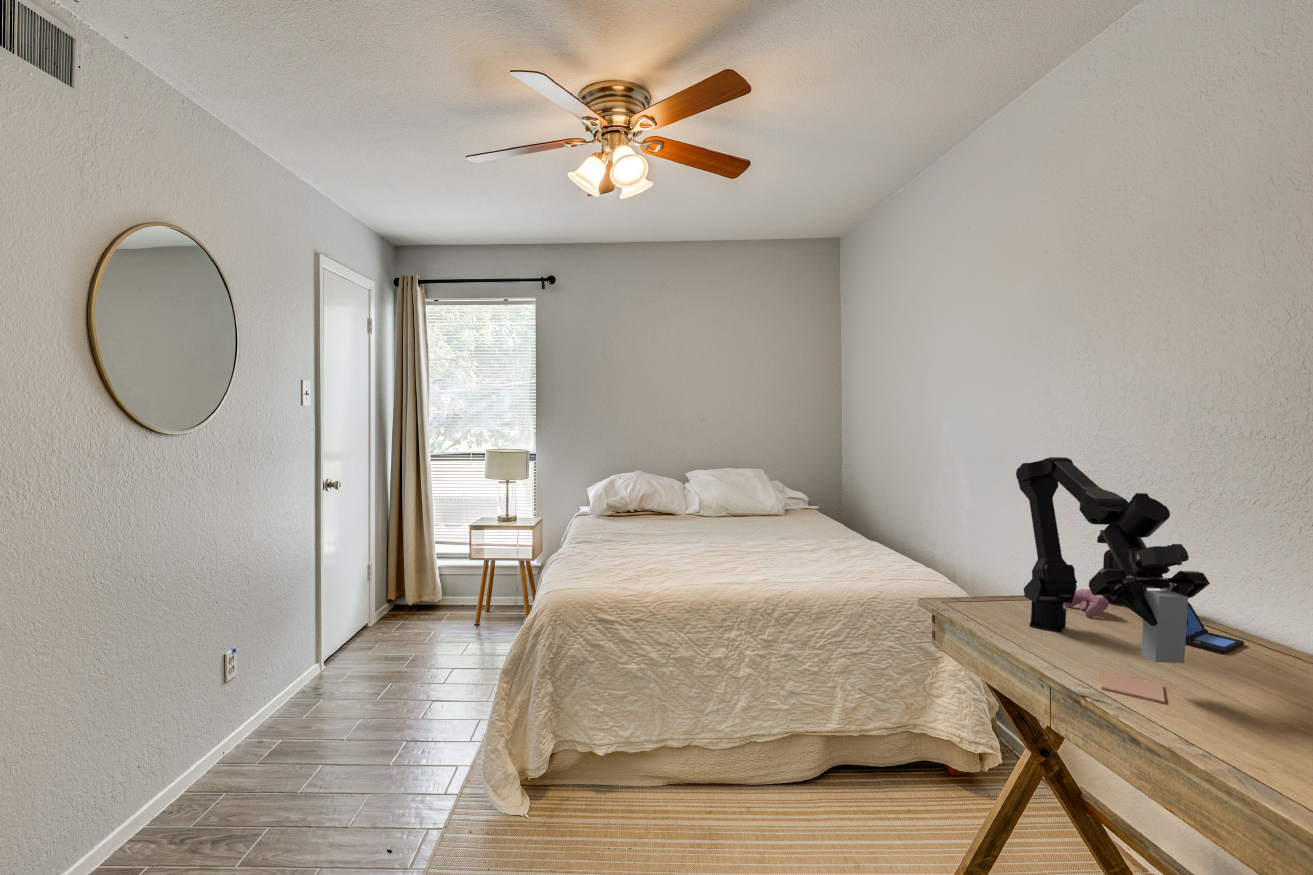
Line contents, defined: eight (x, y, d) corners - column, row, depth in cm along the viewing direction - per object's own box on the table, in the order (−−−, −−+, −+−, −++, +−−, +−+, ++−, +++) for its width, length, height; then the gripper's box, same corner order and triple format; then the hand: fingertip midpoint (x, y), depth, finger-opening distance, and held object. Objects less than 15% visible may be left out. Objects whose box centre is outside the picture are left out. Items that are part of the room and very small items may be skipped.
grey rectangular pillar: (1141, 654, 116) (1144, 590, 115) (1168, 655, 115) (1172, 591, 115) (1155, 662, 112) (1159, 596, 112) (1184, 663, 112) (1188, 596, 111)
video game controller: (1102, 624, 155) (1116, 600, 155) (1086, 616, 155) (1099, 591, 155) (1075, 612, 165) (1088, 589, 165) (1060, 604, 165) (1073, 581, 165)
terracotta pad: (1101, 688, 114) (1101, 686, 114) (1102, 673, 121) (1102, 671, 121) (1164, 703, 108) (1164, 701, 108) (1162, 686, 116) (1162, 684, 116)
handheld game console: (1225, 656, 132) (1227, 621, 132) (1163, 640, 141) (1164, 607, 141) (1246, 646, 139) (1248, 613, 138) (1185, 631, 148) (1187, 600, 148)
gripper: (1101, 526, 117) (1141, 602, 106) (1204, 528, 116) (1255, 605, 106) (1073, 557, 125) (1107, 631, 115) (1169, 560, 124) (1212, 635, 114)
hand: (1170, 625), depth 112 cm, fingers closed on grey rectangular pillar, 5 cm apart
